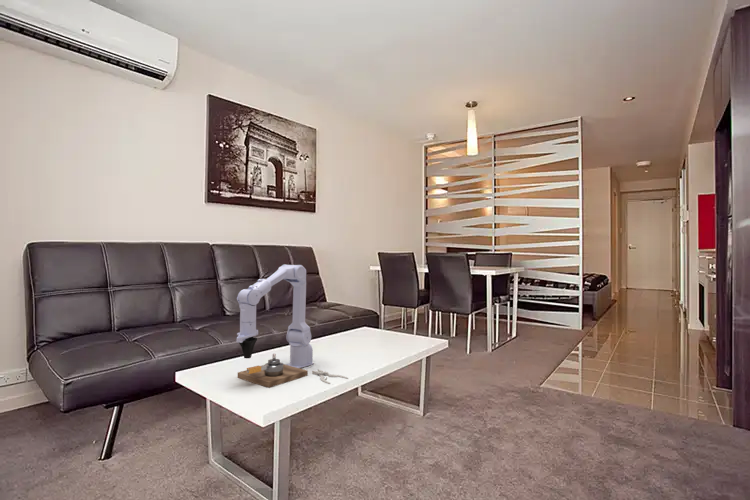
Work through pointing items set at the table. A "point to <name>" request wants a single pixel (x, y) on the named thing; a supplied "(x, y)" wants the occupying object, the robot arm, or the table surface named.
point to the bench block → (270, 381)
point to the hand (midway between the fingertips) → (247, 357)
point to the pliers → (326, 375)
